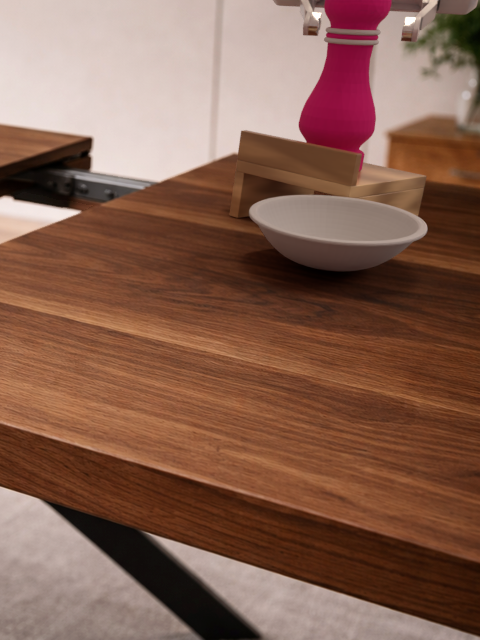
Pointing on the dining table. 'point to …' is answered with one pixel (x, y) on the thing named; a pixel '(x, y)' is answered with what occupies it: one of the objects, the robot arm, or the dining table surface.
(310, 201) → the dish
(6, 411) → the dining table surface
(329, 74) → the pepper mill
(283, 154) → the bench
